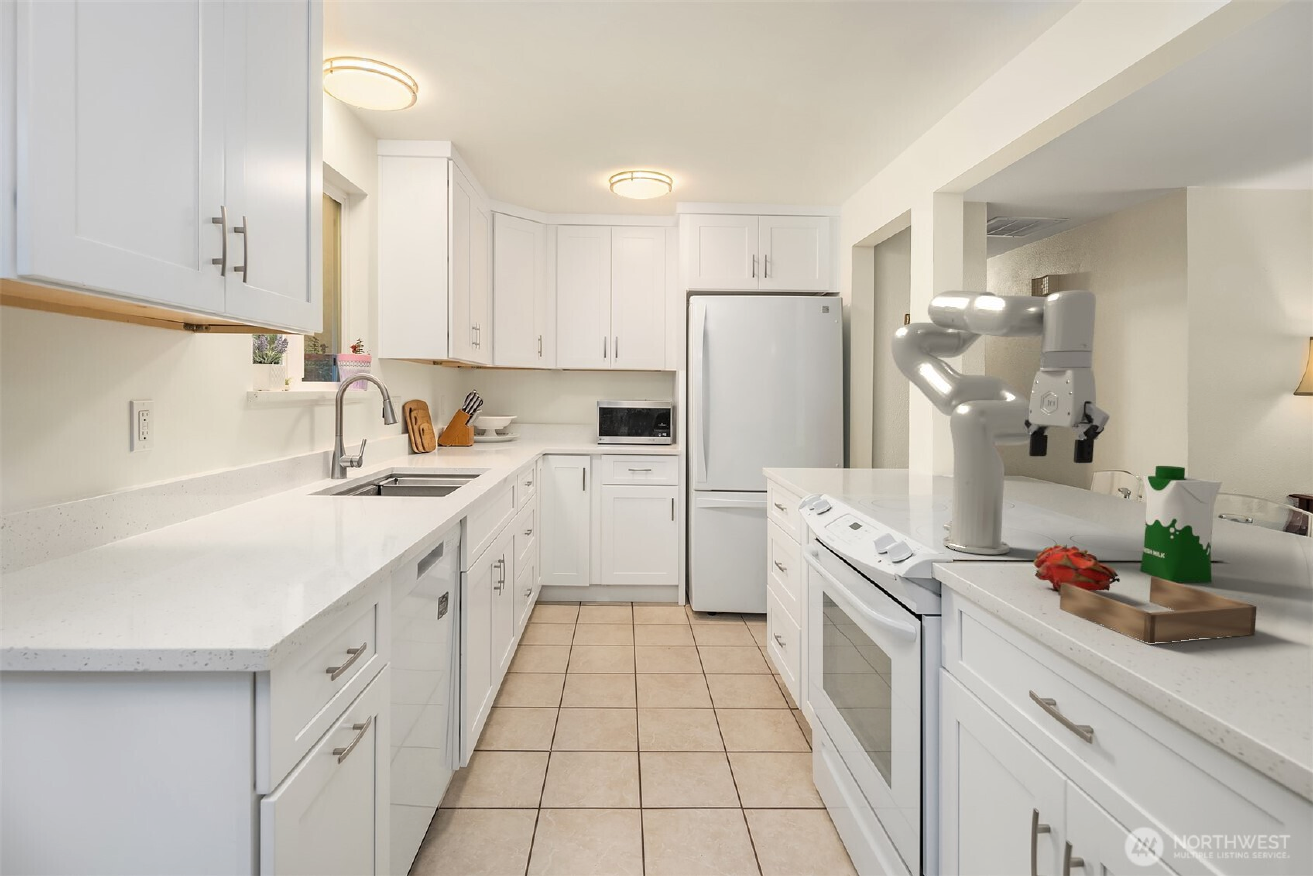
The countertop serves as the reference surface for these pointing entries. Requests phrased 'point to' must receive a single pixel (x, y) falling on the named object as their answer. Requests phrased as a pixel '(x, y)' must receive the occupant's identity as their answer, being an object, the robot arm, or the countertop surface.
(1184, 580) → the milk carton
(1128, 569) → the countertop surface
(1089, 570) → the dragon fruit
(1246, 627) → the tray
